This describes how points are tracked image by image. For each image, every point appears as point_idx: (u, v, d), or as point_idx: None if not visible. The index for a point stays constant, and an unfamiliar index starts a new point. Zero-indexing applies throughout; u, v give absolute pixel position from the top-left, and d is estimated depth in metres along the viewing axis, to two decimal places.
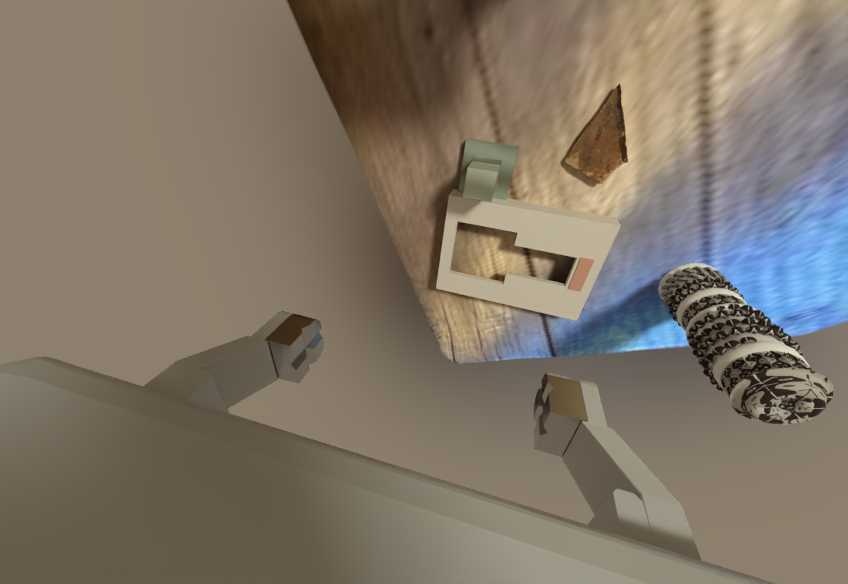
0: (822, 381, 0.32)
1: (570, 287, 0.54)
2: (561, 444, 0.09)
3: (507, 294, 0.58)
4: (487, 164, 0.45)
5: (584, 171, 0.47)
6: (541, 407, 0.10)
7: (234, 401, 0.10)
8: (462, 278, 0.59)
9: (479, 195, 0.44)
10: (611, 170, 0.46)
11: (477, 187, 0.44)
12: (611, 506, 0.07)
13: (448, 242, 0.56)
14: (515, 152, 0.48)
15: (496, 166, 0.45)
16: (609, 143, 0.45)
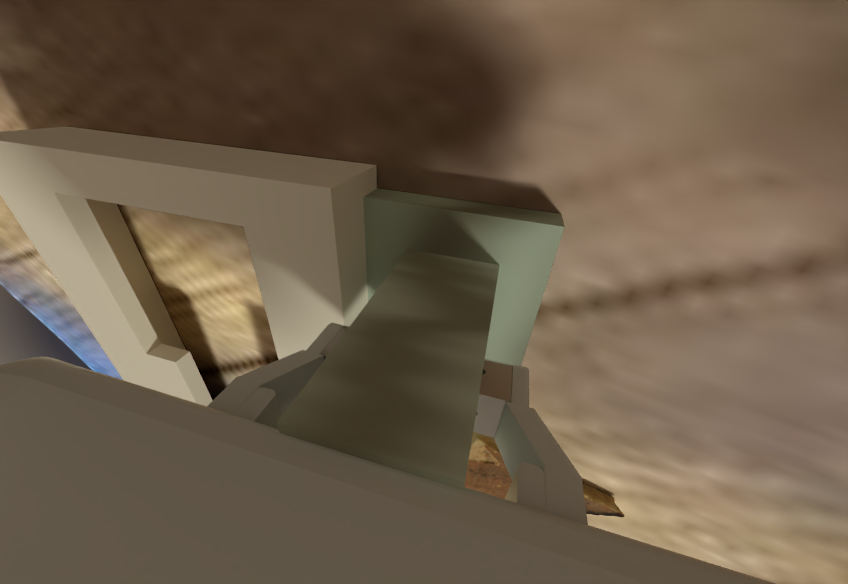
0: None
1: None
2: (492, 425, 0.10)
3: (131, 360, 0.21)
4: None
5: None
6: None
7: None
8: (75, 243, 0.16)
9: None
10: None
11: None
12: (516, 478, 0.07)
13: (150, 188, 0.13)
14: None
15: None
16: None
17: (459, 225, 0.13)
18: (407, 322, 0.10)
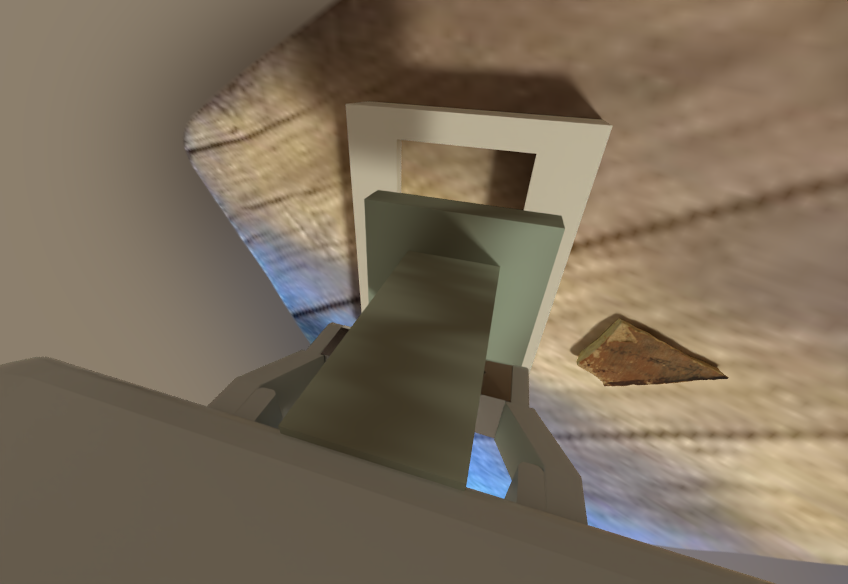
0: None
1: None
2: (491, 425, 0.10)
3: None
4: None
5: (601, 348, 0.31)
6: None
7: None
8: (390, 175, 0.25)
9: None
10: (596, 373, 0.33)
11: None
12: (516, 478, 0.07)
13: (478, 132, 0.22)
14: None
15: None
16: (639, 371, 0.31)
17: (460, 227, 0.13)
18: (408, 324, 0.10)
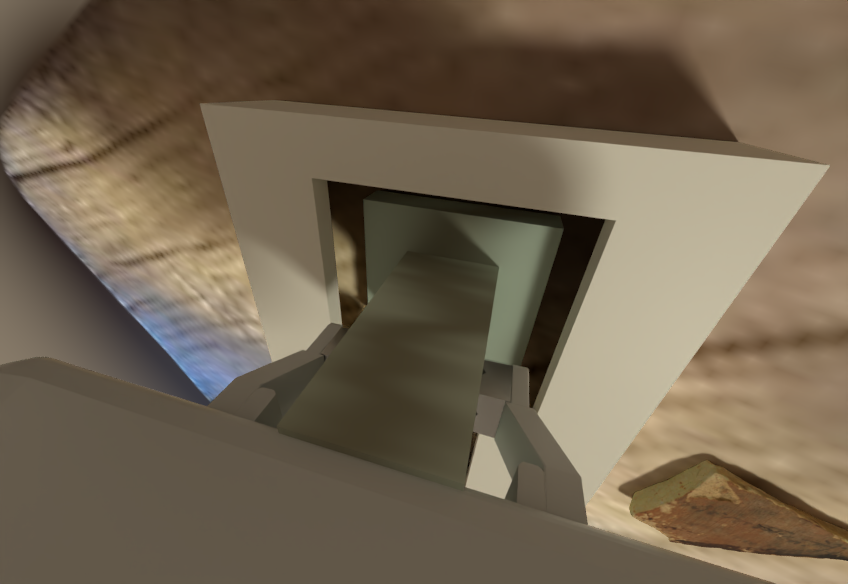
0: None
1: None
2: (492, 425, 0.10)
3: None
4: None
5: (676, 503, 0.19)
6: None
7: None
8: (307, 243, 0.13)
9: None
10: (660, 529, 0.21)
11: None
12: (516, 478, 0.07)
13: (482, 170, 0.10)
14: None
15: None
16: (735, 537, 0.20)
17: (459, 227, 0.13)
18: (407, 325, 0.10)
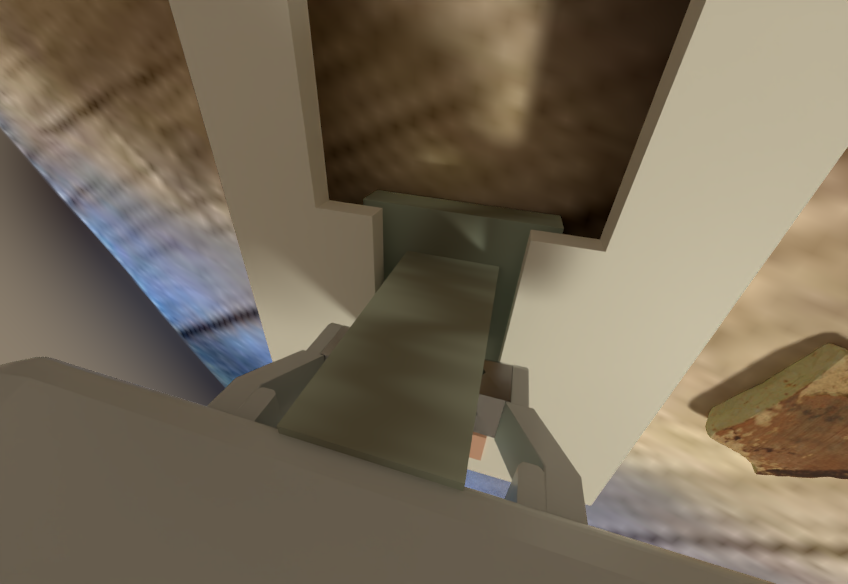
0: None
1: None
2: (492, 425, 0.10)
3: (278, 229, 0.13)
4: None
5: (781, 408, 0.14)
6: None
7: None
8: None
9: None
10: (748, 454, 0.16)
11: None
12: (516, 478, 0.07)
13: None
14: None
15: None
16: None
17: (459, 227, 0.13)
18: (407, 324, 0.10)
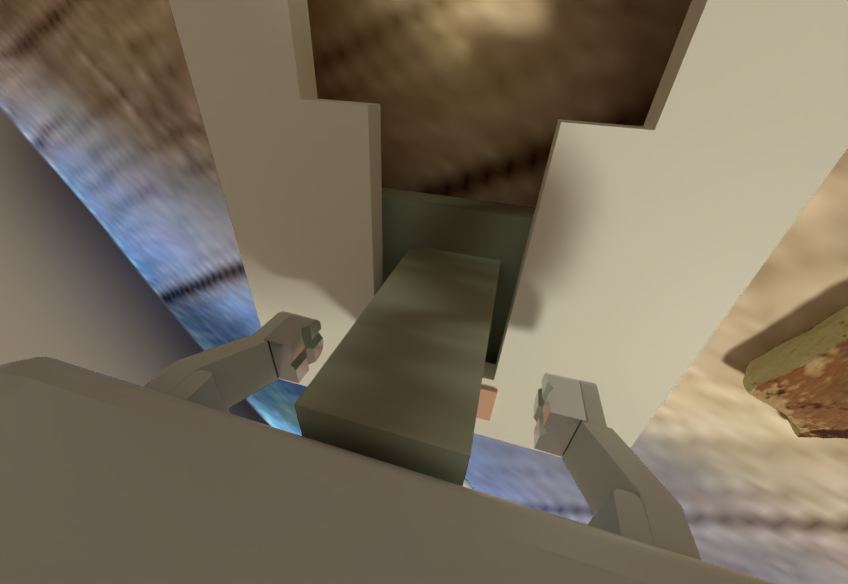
0: None
1: None
2: (561, 444, 0.09)
3: (258, 134, 0.11)
4: None
5: (837, 352, 0.12)
6: (541, 407, 0.10)
7: (234, 401, 0.10)
8: None
9: None
10: (791, 412, 0.14)
11: None
12: (611, 506, 0.07)
13: None
14: None
15: None
16: None
17: (462, 222, 0.13)
18: (413, 314, 0.10)
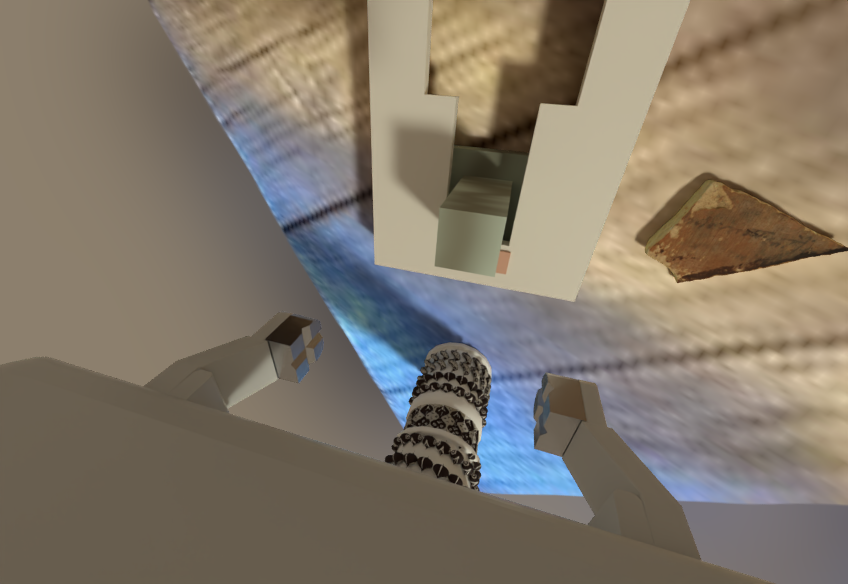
0: None
1: None
2: (561, 444, 0.09)
3: (398, 111, 0.23)
4: None
5: (682, 222, 0.24)
6: (541, 407, 0.10)
7: (234, 401, 0.10)
8: None
9: (445, 243, 0.20)
10: (669, 264, 0.26)
11: (463, 238, 0.20)
12: (611, 506, 0.07)
13: None
14: None
15: None
16: (729, 252, 0.25)
17: (492, 159, 0.25)
18: (474, 193, 0.22)
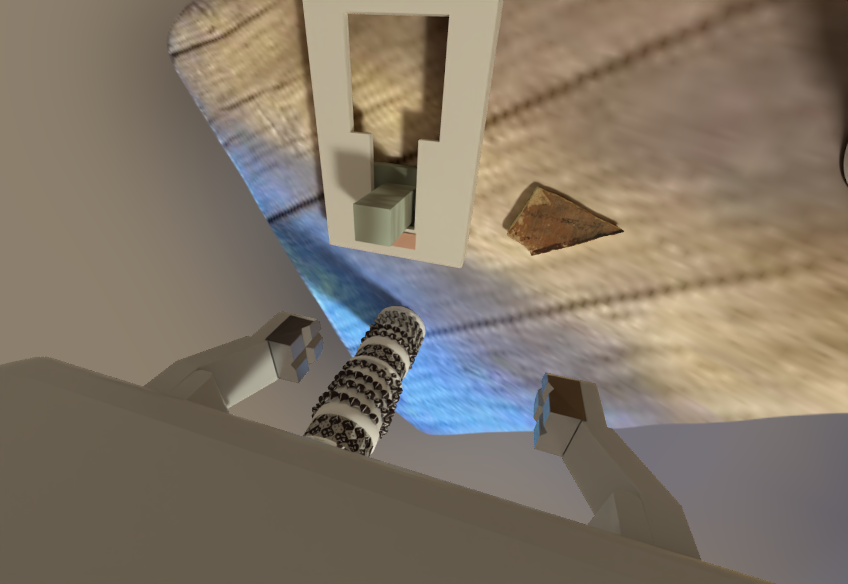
0: None
1: None
2: (561, 444, 0.09)
3: (335, 142, 0.36)
4: (402, 218, 0.36)
5: (524, 214, 0.37)
6: (541, 407, 0.10)
7: (234, 401, 0.10)
8: (339, 47, 0.31)
9: (359, 225, 0.33)
10: (523, 242, 0.39)
11: (368, 222, 0.33)
12: (611, 506, 0.07)
13: None
14: None
15: (401, 231, 0.36)
16: (556, 234, 0.37)
17: (402, 172, 0.38)
18: (382, 194, 0.35)
